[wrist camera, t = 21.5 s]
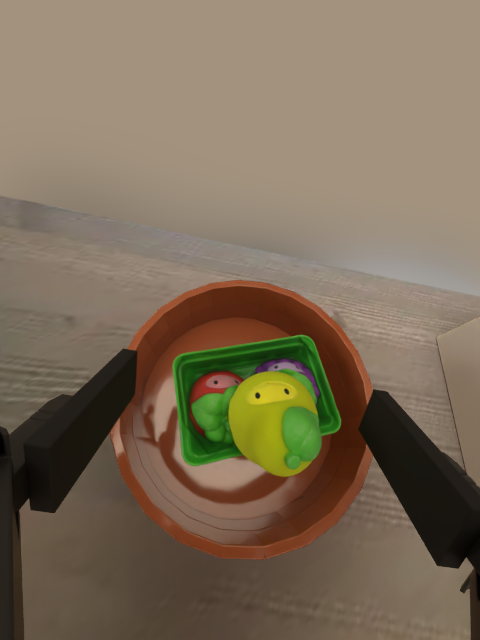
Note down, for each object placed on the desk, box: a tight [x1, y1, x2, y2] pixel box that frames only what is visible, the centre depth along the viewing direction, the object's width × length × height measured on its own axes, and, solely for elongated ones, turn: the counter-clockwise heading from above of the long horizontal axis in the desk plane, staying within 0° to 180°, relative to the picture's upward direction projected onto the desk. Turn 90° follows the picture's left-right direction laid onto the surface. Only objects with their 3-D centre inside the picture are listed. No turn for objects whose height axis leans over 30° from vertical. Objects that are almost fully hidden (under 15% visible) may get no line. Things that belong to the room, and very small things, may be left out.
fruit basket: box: [172, 335, 341, 477], centre depth 18 cm, size 11×9×11 cm
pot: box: [110, 280, 373, 560], centre depth 21 cm, size 18×18×6 cm
